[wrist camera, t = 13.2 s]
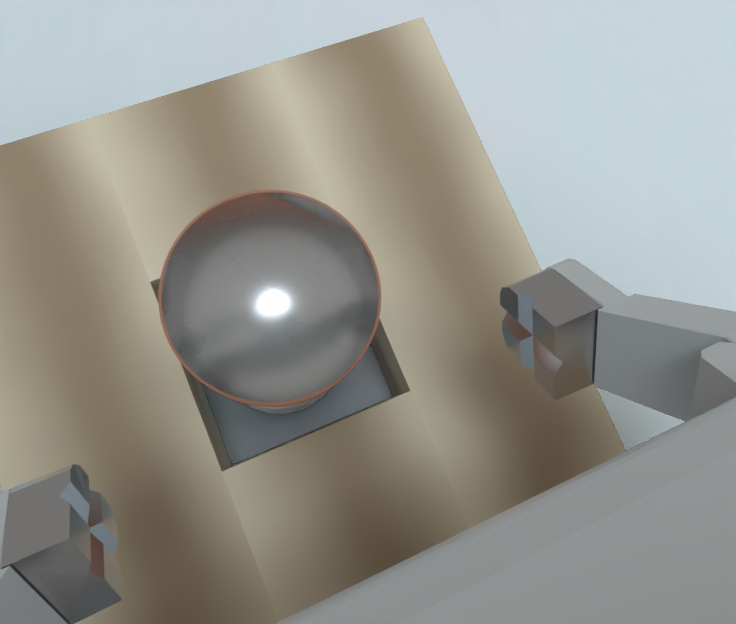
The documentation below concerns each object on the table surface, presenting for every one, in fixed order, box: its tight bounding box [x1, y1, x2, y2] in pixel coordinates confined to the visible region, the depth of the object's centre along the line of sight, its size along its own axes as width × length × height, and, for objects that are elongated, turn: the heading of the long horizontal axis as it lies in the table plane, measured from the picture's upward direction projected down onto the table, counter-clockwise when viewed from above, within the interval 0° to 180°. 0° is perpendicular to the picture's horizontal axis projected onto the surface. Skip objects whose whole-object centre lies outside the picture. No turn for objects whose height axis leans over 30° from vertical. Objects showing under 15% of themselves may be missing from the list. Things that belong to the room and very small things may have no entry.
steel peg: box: [158, 190, 381, 414], centre depth 16 cm, size 4×4×9 cm
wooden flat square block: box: [0, 17, 626, 624], centre depth 19 cm, size 16×16×3 cm
